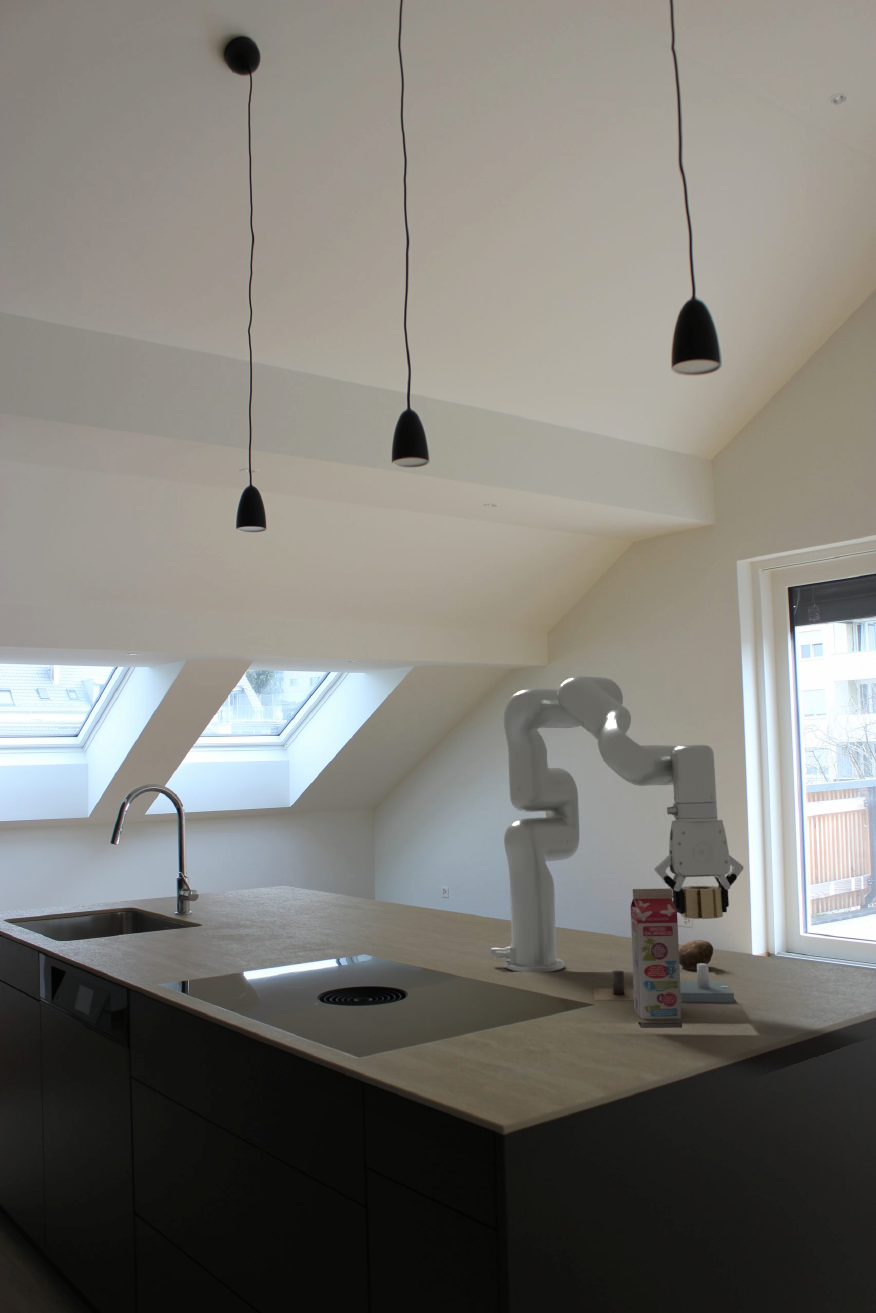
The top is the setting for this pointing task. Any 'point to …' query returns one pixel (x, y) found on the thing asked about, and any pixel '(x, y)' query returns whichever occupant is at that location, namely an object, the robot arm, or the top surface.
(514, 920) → the robot arm
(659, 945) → the juice carton
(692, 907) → the ring
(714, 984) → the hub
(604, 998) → the stand
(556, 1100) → the top surface
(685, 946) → the brown potato
